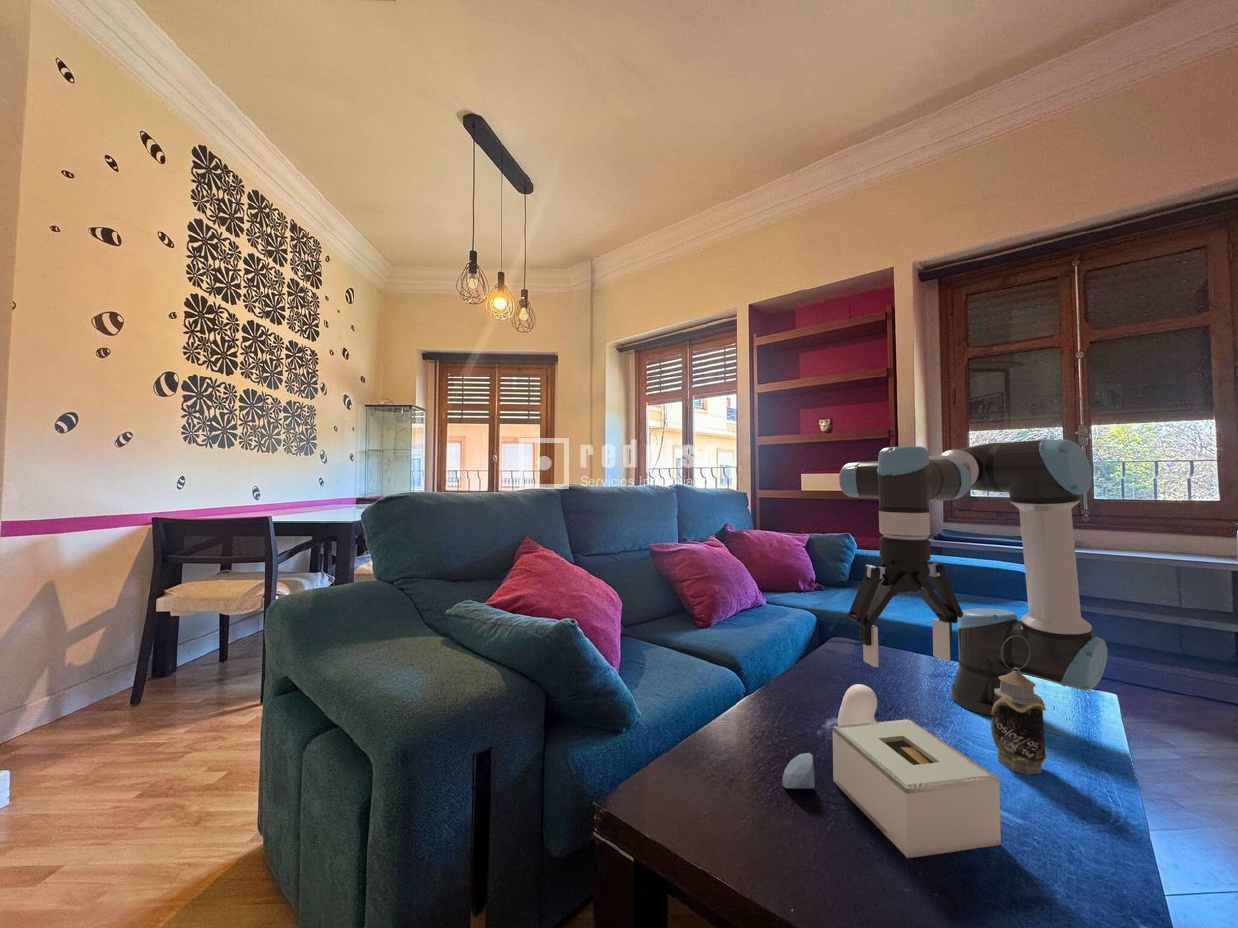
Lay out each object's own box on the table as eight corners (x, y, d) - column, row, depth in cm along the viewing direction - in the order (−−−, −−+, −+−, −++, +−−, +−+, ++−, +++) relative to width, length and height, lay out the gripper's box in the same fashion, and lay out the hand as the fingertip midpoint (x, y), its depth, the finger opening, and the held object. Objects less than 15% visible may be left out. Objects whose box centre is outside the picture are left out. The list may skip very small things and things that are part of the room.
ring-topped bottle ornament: (1019, 779, 88) (1016, 643, 89) (980, 754, 96) (977, 629, 97) (1059, 774, 89) (1055, 640, 90) (1017, 750, 97) (1013, 627, 98)
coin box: (910, 772, 90) (909, 719, 90) (1000, 844, 72) (999, 777, 73) (833, 781, 87) (832, 726, 88) (907, 858, 70) (906, 788, 70)
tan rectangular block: (906, 791, 83) (914, 747, 82) (930, 814, 78) (939, 767, 77) (892, 791, 82) (900, 747, 82) (915, 814, 77) (924, 767, 77)
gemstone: (830, 763, 88) (809, 741, 89) (830, 793, 81) (807, 769, 82) (800, 783, 90) (780, 761, 91) (797, 814, 83) (776, 790, 85)
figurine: (883, 753, 96) (882, 694, 97) (842, 749, 98) (842, 690, 98) (871, 735, 103) (871, 679, 103) (834, 731, 105) (833, 676, 105)
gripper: (948, 532, 87) (951, 648, 87) (824, 535, 83) (826, 657, 83) (986, 537, 80) (990, 664, 79) (852, 540, 76) (854, 675, 75)
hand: (906, 661), depth 81 cm, fingers open, 13 cm apart
